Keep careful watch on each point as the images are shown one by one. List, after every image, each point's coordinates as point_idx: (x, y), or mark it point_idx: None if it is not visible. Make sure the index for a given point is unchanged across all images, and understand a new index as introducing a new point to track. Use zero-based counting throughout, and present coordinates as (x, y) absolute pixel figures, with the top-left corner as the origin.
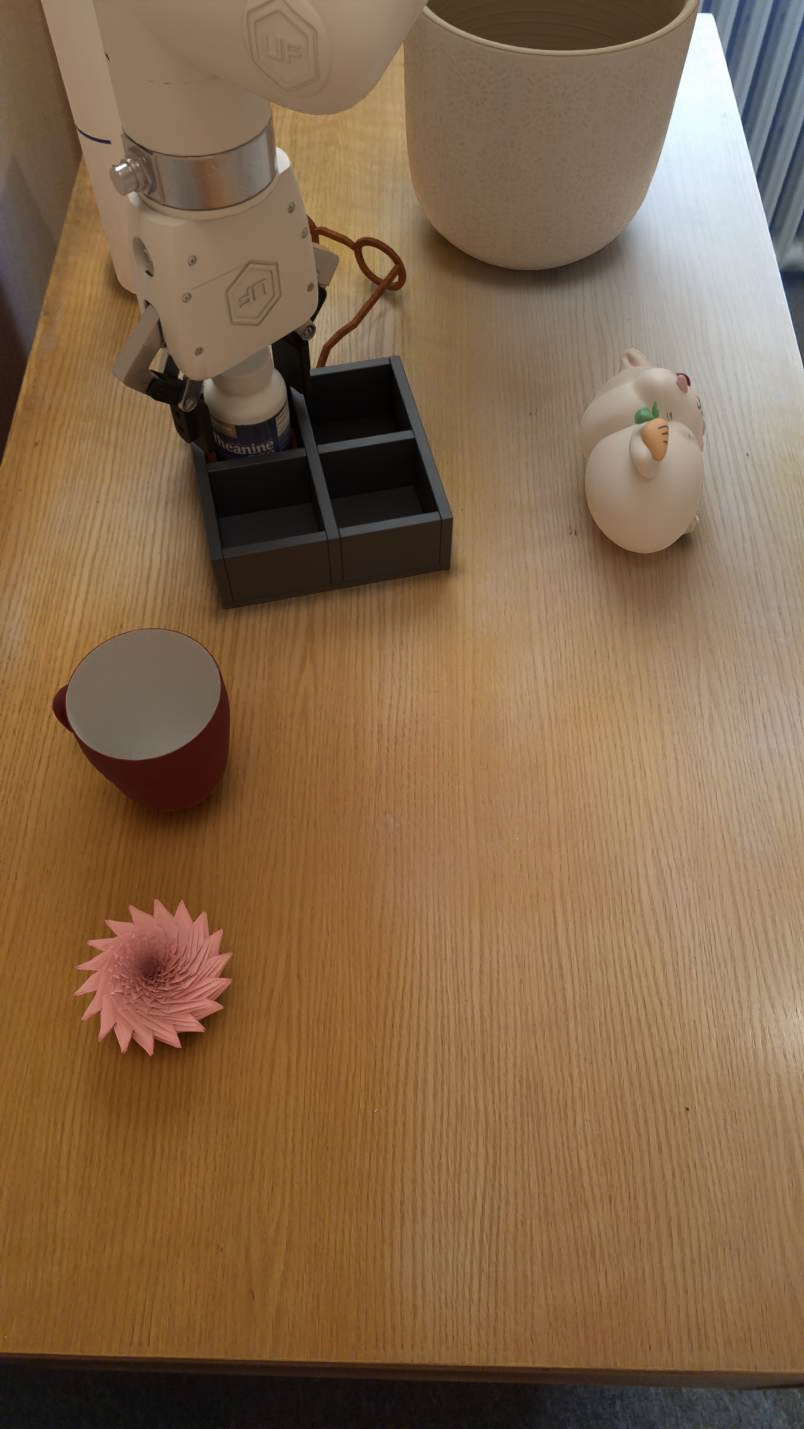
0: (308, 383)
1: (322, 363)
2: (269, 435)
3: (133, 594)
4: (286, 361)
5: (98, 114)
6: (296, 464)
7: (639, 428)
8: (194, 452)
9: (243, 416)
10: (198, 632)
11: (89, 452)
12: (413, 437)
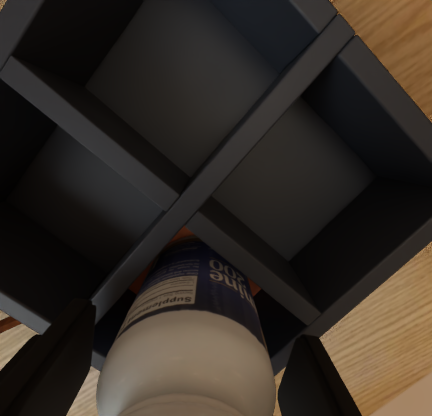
0: (69, 313)
1: (11, 320)
2: (215, 287)
3: (412, 266)
4: (61, 388)
5: None
6: (213, 218)
7: None
8: None
9: (256, 356)
10: None
11: (277, 409)
12: (12, 58)
